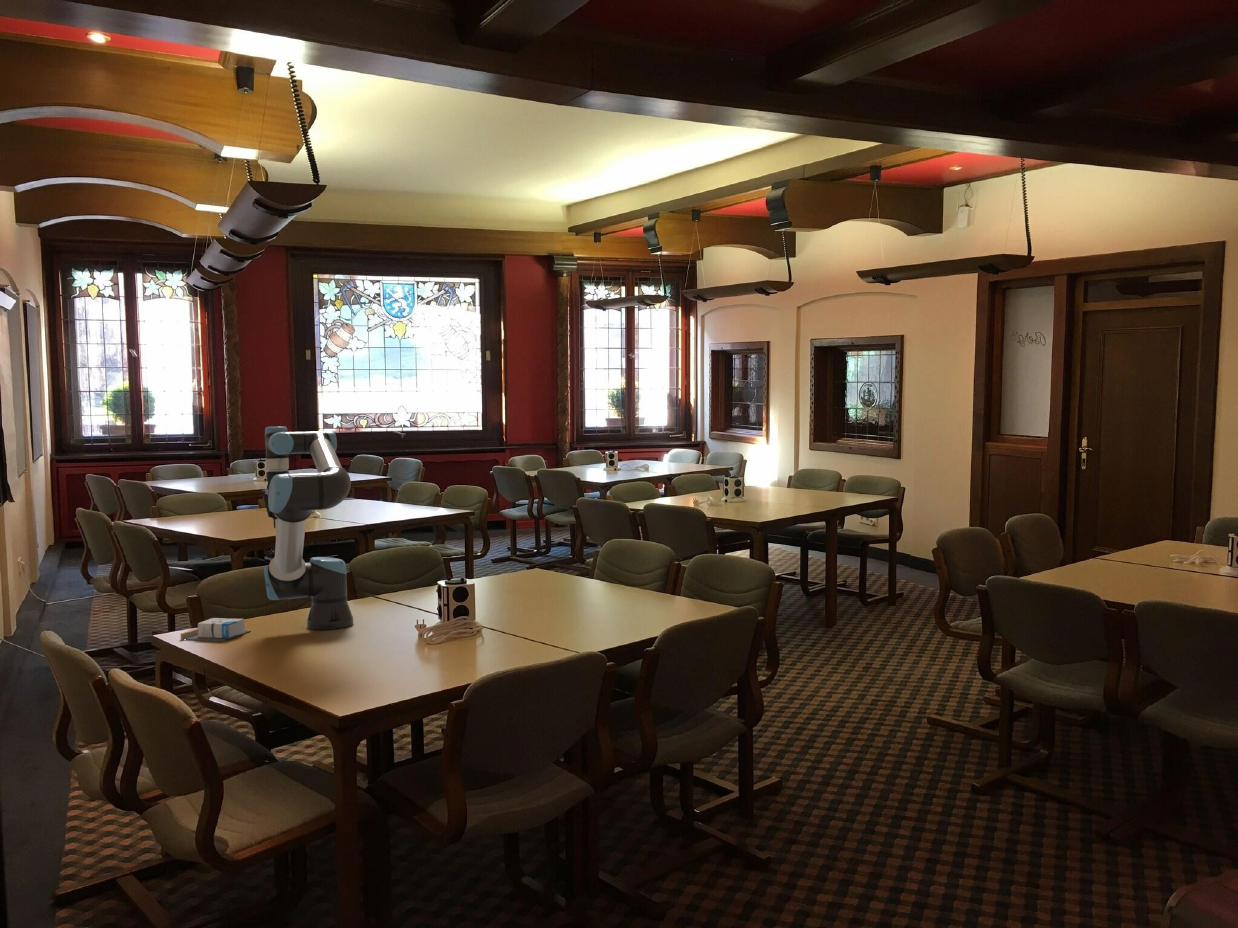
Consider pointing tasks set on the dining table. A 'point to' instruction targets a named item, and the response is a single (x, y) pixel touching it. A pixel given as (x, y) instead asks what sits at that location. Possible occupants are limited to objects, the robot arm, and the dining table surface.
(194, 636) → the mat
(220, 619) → the ink box
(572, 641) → the dining table surface
